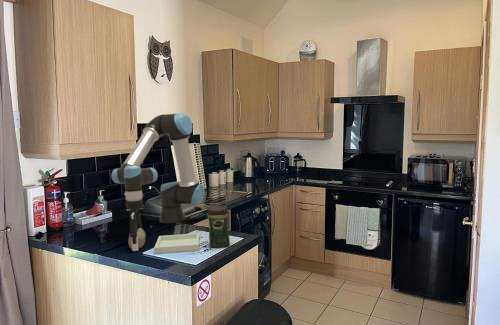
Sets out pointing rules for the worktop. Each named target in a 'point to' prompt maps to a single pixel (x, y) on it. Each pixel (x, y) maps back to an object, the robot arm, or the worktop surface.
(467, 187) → the worktop surface
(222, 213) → the coffee jar
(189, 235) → the holder dish
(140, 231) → the garlic bulb
